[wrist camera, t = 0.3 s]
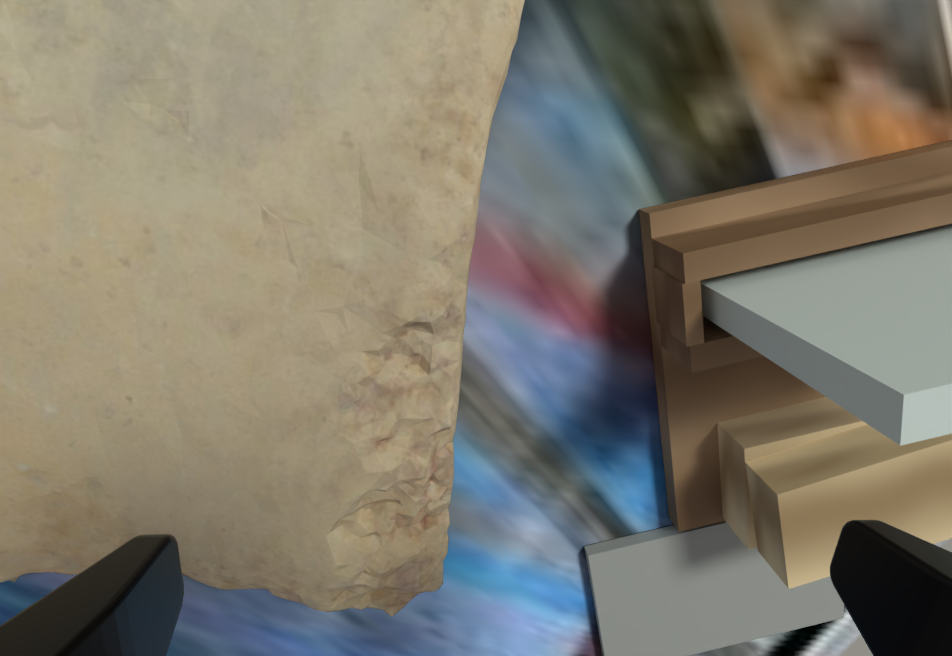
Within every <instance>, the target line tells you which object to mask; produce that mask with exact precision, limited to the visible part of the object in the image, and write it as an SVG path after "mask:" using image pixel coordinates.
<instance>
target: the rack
mask: <svg viewBox="0 0 952 656" xmlns="http://www.w3.org/2000/svg"><path fill="white" fill-rule="evenodd" d="M639 217H640V227H641V238H642V248H643V258H644V268H645V278H646V289H647V299H648V309H649V319H650V329H651V340H652V350H653V360H654V370H655V380H656V390H657V401H658V411H659V421H660V431H661V441H662V452H663V462H664V472H665V482H666V492H667V502H668V513H669V518H670V519H671V521H672V523H673V524H674V526H675V527H676V529H677V530H678V532H680V531H685V530H689V529H693V528H697V527H701V526H706V525H710V524H714V523H718V522H722V521H725V520H724V519H723V512H722V495H721V477H720V460H719V442H718V425H717V422H722V421H726V420H730V419H735V418H739V417H743V416H747V415H752V414H756V413H760V412H765V411H769V410H773V409H777V408H782V407H786V406H790V405H794V404H799V403H803V402H807V401H812V400H816V399H820V398H824V397H825V396H824V395H822V394H821V393H819V392H818V391H816V390H815V389H813V388H812V387H810V386H809V385H807V384H806V383H804V382H803V381H801V380H800V379H798V378H797V377H795V376H794V375H792V374H791V373H789V372H787V371H786V370H784V369H783V368H781V367H780V366H778V365H777V364H775V363H774V362H772V361H771V360H769V359H768V358H766V357H765V356H763V355H762V354H760V353H759V352H757V351H756V350H754V349H753V348H751V347H750V346H748V345H747V344H745V343H743V342H742V341H740V340H739V339H737V338H736V337H734V336H733V335H731V334H730V333H728V332H727V331H725V330H724V329H722V328H721V327H719V326H718V325H716V324H715V323H713V322H712V321H710V320H709V319H707V318H706V317H704V316H703V314H702V298H701V282H700V280H704V279H708V278H713V277H717V276H721V275H726V274H730V273H735V272H739V271H744V270H748V269H752V268H757V267H761V266H766V265H770V264H775V263H779V262H783V261H788V260H792V259H797V258H801V257H806V256H810V255H814V254H819V253H823V252H828V251H832V250H837V249H841V248H845V247H850V246H854V245H859V244H863V243H867V242H872V241H876V240H881V239H885V238H890V237H894V236H898V235H903V234H907V233H912V232H916V231H921V230H925V229H929V228H934V227H938V226H943V225H947V224H952V140H950V141H945V142H941V143H936V144H932V145H927V146H923V147H918V148H914V149H909V150H905V151H900V152H896V153H891V154H887V155H882V156H878V157H873V158H869V159H864V160H860V161H855V162H851V163H846V164H842V165H837V166H833V167H828V168H824V169H819V170H815V171H810V172H806V173H801V174H796V175H792V176H787V177H783V178H778V179H774V180H769V181H765V182H760V183H756V184H751V185H747V186H742V187H738V188H733V189H729V190H724V191H720V192H715V193H711V194H706V195H702V196H697V197H693V198H688V199H684V200H679V201H675V202H670V203H666V204H661V205H657V206H652V207H647V208H643V209H639Z"/></svg>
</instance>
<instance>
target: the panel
mask: <svg viewBox="0 0 952 656" xmlns="http://www.w3.org/2000/svg"><path fill="white" fill-rule="evenodd" d="M700 282H701V298H702V314H703V316H704V317H706V318H707V319H709V320H710V321H712V322H713V323H715V324H716V325H718V326H719V327H721V328H722V329H724V330H725V331H727V332H728V333H730V334H731V335H733V336H734V337H736V338H737V339H739V340H740V341H742V342H743V343H745V344H747V345H748V346H750V347H751V348H753V349H754V350H756V351H757V352H759V353H760V354H762V355H763V356H765V357H766V358H768V359H769V360H771V361H772V362H774V363H775V364H777V365H778V366H780V367H781V368H783V369H784V370H786V371H787V372H789V373H791V374H792V375H794V376H795V377H797V378H798V379H800V380H801V381H803V382H804V383H806V384H807V385H809V386H810V387H812V388H813V389H815V390H816V391H818V392H819V393H821V394H822V395H824V396H825V397H827V398H828V399H830V400H832V401H833V402H835V403H836V404H838V405H839V406H841V407H842V408H844V409H845V410H847V411H848V412H850V413H851V414H853V415H854V416H856V417H857V418H859V419H860V420H862V421H863V422H865V423H866V424H868V425H869V426H871V427H872V428H874V429H876V430H877V431H879V432H880V433H882V434H883V435H885V436H886V437H888V438H889V439H891V440H892V441H894V442H895V443H897V444H898V445H900V446H901V445H905V444H910V443H914V442H918V441H922V440H926V439H931V438H935V437H939V436H943V435H948V434H952V224H947V225H943V226H938V227H934V228H929V229H925V230H921V231H916V232H912V233H907V234H903V235H898V236H894V237H890V238H885V239H881V240H876V241H872V242H867V243H863V244H859V245H854V246H850V247H845V248H841V249H837V250H832V251H828V252H823V253H819V254H814V255H810V256H806V257H801V258H797V259H792V260H788V261H783V262H779V263H775V264H770V265H766V266H761V267H757V268H752V269H748V270H744V271H739V272H735V273H730V274H726V275H721V276H717V277H713V278H708V279H704V280H700Z"/></svg>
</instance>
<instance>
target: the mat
mask: <svg viewBox="0 0 952 656" xmlns="http://www.w3.org/2000/svg"><path fill="white" fill-rule="evenodd" d="M584 548H585V554H586V560H587V566H588V572H589V578H590V584H591V590H592V596H593V602H594V608H595V614H596V620H597V626H598V632H599V638H600V644H601V650H602V656H689V655H693V654H697V653H701V652H705V651H709V650H713V649H717V648H722V647H726V646H730V645H734V644H738V643H742V642H746V641H750V640H754V639H758V638H762V637H766V636H770V635H774V634H778V633H783V632H787V631H791V630H795V629H799V628H803V627H807V626H811V625H815V624H819V623H823V622H827V621H831V620H835V619H839V618H843V614H844V603H843V602H842V600H841V598H840V596H839V595H838V593H837V591H836V589H835V588H834V586H833V584H832V581H831V577H830V576H829V577H826V578H823V579H819V580H816V581H813V582H810V583H807V584H803V585H800V586H797V587H794V588H791V589H788V588H787V586H786V585H785V584H784V583H783V581H782V580H781V579H780V578H779V576H778V575H777V574H776V573H775V572H774V570H773V569H772V568H771V567H770V565H769V564H768V563H767V562H766V560H765V559H764V558H763V557H762V555H761V554H760V553H759V552H758V548H754V549H750V550H748V549H747V548H746V546H745V545H744V544H743V543H742V541H741V540H740V539H739V538H738V536H737V535H736V534H735V532H734V531H733V530H732V529H731V527H730V526H729V525H728V524H727V522H726V521H722V522H718V523H714V524H710V525H706V526H701V527H697V528H693V529H689V530H685V531H680V532H678V530H677V529H676V527H675V526H674V525H672V526H667V527H663V528H659V529H655V530H651V531H646V532H642V533H638V534H634V535H630V536H625V537H621V538H617V539H613V540H609V541H604V542H600V543H596V544H592V545H588V546H584Z"/></svg>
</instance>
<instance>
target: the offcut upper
mask: <svg viewBox="0 0 952 656" xmlns="http://www.w3.org/2000/svg"><path fill="white" fill-rule="evenodd" d="M745 463H746V470H747V477H748V484H749V491H750V498H751V505H752V512H753V519H754V526H755V533H756V540H757V547H758V552H759V553H760V554H761V555H762V557H763V558H764V559H765V560H766V562H767V563H768V564H769V565H770V567H771V568H772V569H773V570H774V572H775V573H776V574H777V575H778V576H779V578H780V579H781V580H782V581H783V583H784V584H785V585H786V586H787V588H788V589H791V588H794V587H797V586H800V585H803V584H807V583H810V582H813V581H816V580H819V579H823V578H826V577H829V576H830V564H831V561H832V558H833V555H834V551H835V548H836V545H837V542H838V539H839V536H840V533H841V530H842V528H843V526H844V525H845V524H846V523H847V522H848V521H851V520H879V521H882V522H885V523H887V524H889V525H891V526H894V527H896V528H898V529H900V530H903V531H905V532H907V533H909V534H911V535H914V536H916V537H918V538H920V539H923V540H925V541H927V542H929V543H932V544H935V543H938V542H941V541H944V540H947V539H951V538H952V434H948V435H943V436H939V437H935V438H931V439H926V440H922V441H918V442H914V443H910V444H905V445H901V446H900V445H898V444H897V443H895V442H894V441H892V440H891V439H889V438H888V437H886V436H885V435H883V434H882V433H880V432H879V431H877V430H876V429H874V428H872V427H871V426H869V425H868V424H866V425H863V426H860V427H857V428H853V429H850V430H847V431H844V432H841V433H837V434H834V435H831V436H828V437H825V438H821V439H818V440H815V441H812V442H809V443H806V444H802V445H799V446H796V447H793V448H790V449H786V450H783V451H780V452H777V453H774V454H770V455H767V456H764V457H761V458H758V459H754V460H751V461H748V462H745Z"/></svg>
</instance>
